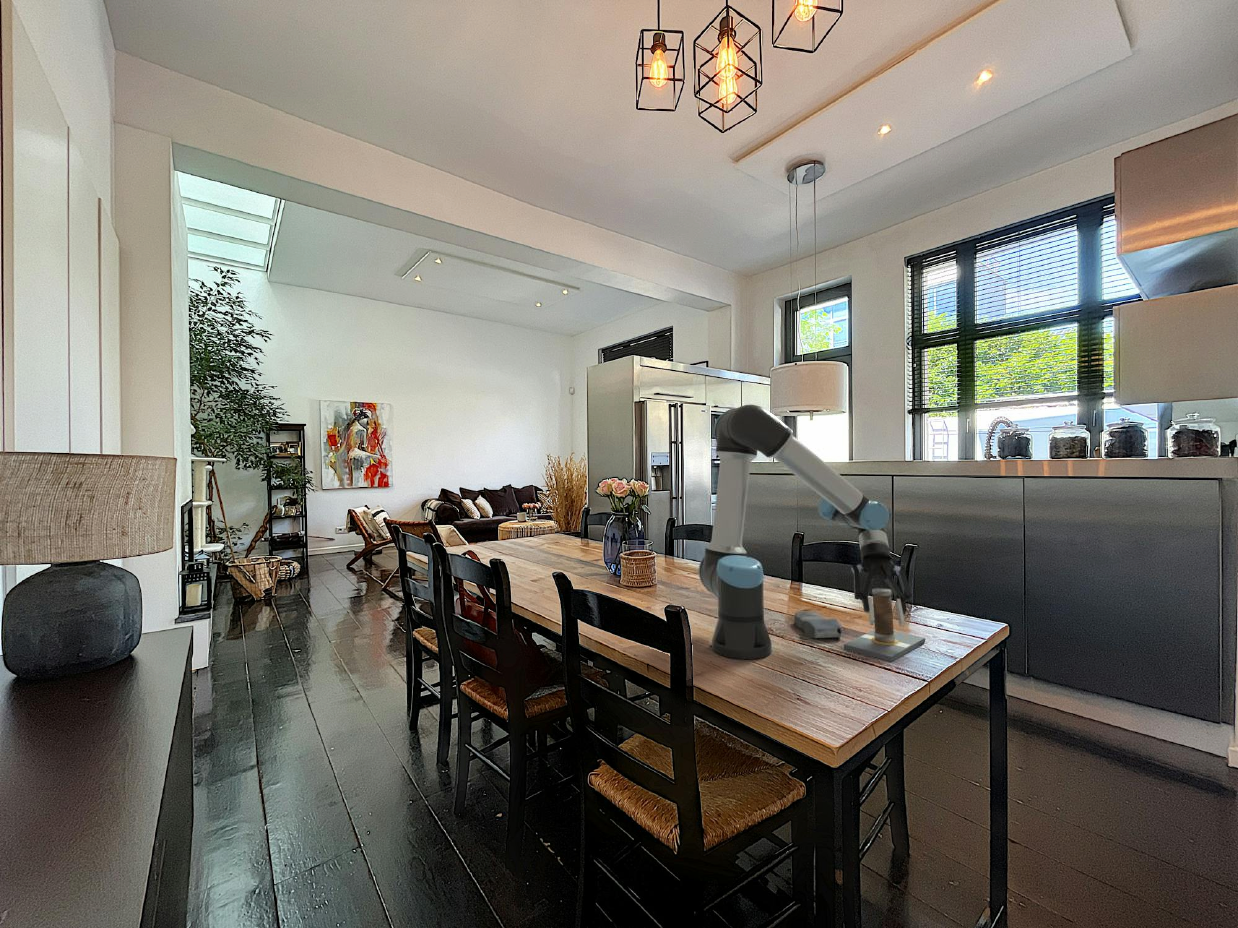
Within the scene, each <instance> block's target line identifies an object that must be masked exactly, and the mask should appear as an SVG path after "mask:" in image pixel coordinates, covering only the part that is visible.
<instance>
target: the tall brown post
mask: <svg viewBox="0 0 1238 928" xmlns="http://www.w3.org/2000/svg"><path fill="white" fill-rule="evenodd" d="M871 594H872V606H873V613H874V619H875V620H874V630H875V631H874V630H873V631H874V637H875V640H876V641H878V642H882V643H893V642H895V633H894V617H893V616H894V615H893V603H892V602H893V600H892V595H893V592H892V591H891V589H890V588H880V587H878V588H877V587H876V588H872V589H871Z"/></svg>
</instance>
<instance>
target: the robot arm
mask: <svg viewBox="0 0 1238 928" xmlns="http://www.w3.org/2000/svg"><path fill="white" fill-rule="evenodd" d="M713 436H714V439H715V441H716V448H715V454H716V455H717V456H718V458H719V460H720V461H719V469H718V476H717V477H718V478H717V479H718V480H717V487H716V497H715V504H714V506H715V507H714V515H713V523H712V524H713V525H712V534H711V541H710V542H709V543H708V544H707V545H705V549H704V557H703V558H702V559H701V560H700V562H699V565H698V578H699V580H700V582H701V584H702V585H703V588H705V589H706V591H708V592H709V593H710V594H713V595H714V596H715V597H717V611H718V613H717V614H718V617H717V621H716V625H715V628H714V632H713V634H712V638H711V643H712V644H711V649H712V650H713V652H714V653H716V654H718V655H719V656H722V655H723V657H727V658H731V659H737V660H738V659H739V660H754V659H755V660H756V659H762V658H766V657H767V656H769V655H771V653H772V651H773V650H772V648H773V647H772V646H773V645H772V639H771V637H770V634H769V631H768V628H767V626H766V623H765V614H764V613H765V612H764V611H765V610H764V609H765V605H764V603H765V602H764V597H765V596H764V578H765V575H764V571H763V566H762V563H761V562H760V561H759V560H757V559H755V558H753V557H750V556H747V551H746V549H745V548H744V547H743V538H744V537H743V536H744V527H745V520H746V519H745V518H746V509H747V499H748V491H749V480H750V471H751V463H752V461H754V459H756V458H757V456H758V452H760V453H761V454H762V455H764V456H765V457H766V458H773V459H775V460H776V461H777V462H778V463H779V464H780V465H782V466H783V467H785V468H786V469H787V470H788V471H789V472H790V473H792V474H793V475H794V476H796V477H797V478H798V479H799V480H801V481H802V482H803V483H804V484H805V485H806V486H808V487H809V488H810V489H812V490H813V491H814V492H815V493H817V494H818V495H819V496H820V497H821V500H820V502H819V505H818V509H817V510H818V514H819V515H820V517H821V518H824V519H826V520H827V521H830V522H833V523H836V524H839V525H841V526H844V527H846V528H849V529H851V530H855V531H856V532H857V537H858V542H859V549H860V557H861V563H860V564H855V563H852V564H851V570H850V571H851V573H852V575H853V590H854V594H853V595H854V596H853V598H854V599H855V600H857V601H858V600H860V601H861V603H862V606H863V608H862V609H863V611H864V613H868V620H869V625H870V626H875V624H874V620H875V619H874V608H873V599H872V597H870V596H869V595H870V594H869V593H870V590H871V588H872V587H871V586H872V583H873V581H874V580H884V582H885V583H886V584H887V585H888V587H889V589H890V590H891V592H892V595H893V596H894V597H895V600H896V602H895V608H896V614H897V619H898V623H899V627H900V628H903V627H904V625H905V623H906V622H905V615H906V613H907V610H908V609H907V603H909V602H911V601H912V597H913V594H912V591H911V589H910V588H911V587H910V585H909V582H908V578H907V576H906V569H907V568H906V566H905V565H900V566H898V565H895V563H894V562H893V561H892V556H891V551H890V545H889V541H888V540H889V539H888V535H887V531H886V525H887V524H888V522H889V519H890V514H889V509H888V508H887V506H886V505H885V504H883V503H882V502H878V501H875V500H871V499H870V498H869V497H868V496H866V495H865V494H864V493H862V492H861V491H860V490H859V489H857V488H856V487H855V486H854V485H853V484H851V483H850V482H849V481H848V480H847V479H846V478H844V477H843V476H841V474H840V473H838V472H837V471H836V470H834V469H833V468H832V467H831V466H830V465H829V464H827V463H826V462H825V461H824V460H822V459H821V457H820V456H818V455H816V454H815V453H814V452H813V451H812V450H811V449H809V448H808V447H807V446H806V445H804V444H803V443H802V442H801V441H800V440H799V439H797V437H795V436H794V435H793V429H792V428H790V427H789V426H788V425H787V424H785V422H783V421H782V420H781V419H780V418H778V417H777V416H775V415H774V414H773V413H771V411H769V410H767V409H766V408H764V407H763V406H760V405H757V404H744V405H741V406H738V407H735V408H730V409H728V410H726V411H724V412H723V413H722V414H720V415H719V416H718V418H717V419H716V421H714V426H713ZM862 571H863V572H864V573H865V574H866V575H867V579H866V582H865V584H864V585H865V586H864V590H863V592H861V582H860V578H861V577H860V573H861V572H862ZM893 571H894V572H895V573H896V575H897V576H898V580H899V585H900V586H901V589H900V586H899V585H898V584H897V582H896V580H895V578H894V577H893Z"/></svg>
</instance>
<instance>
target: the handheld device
mask: <svg viewBox="0 0 1238 928" xmlns="http://www.w3.org/2000/svg"><path fill="white" fill-rule="evenodd" d="M793 617H794V624H795V626H796V627H798V628H800V629H801V630H803V633H804V636H805V637H807V638H810V639H830V638H840V637H842V632H843V630H842V627H841V626H842V625H841V624H840V621H839V620H838V619H836V618H827V617H824V616H823V615H821V614H819V613H816V612H813V611H810V610H809V611H808V610H806V611H805V610H802V611H801V610H800V611H795V613H794V616H793Z"/></svg>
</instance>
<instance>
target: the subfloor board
mask: <svg viewBox="0 0 1238 928" xmlns="http://www.w3.org/2000/svg"><path fill="white" fill-rule="evenodd" d="M874 631H875V629H873V630H872V631H870V632H868V633H865V634H863V635H861V636H859V637H856V638H854V639H852V640H850V641H848V642H846V643H843V650H847V651H851V652H854V653H857V654H862V655H865V656H868V657H869V656H870V657H874V658H877V659H881V660H885V661H888V662H893V661H895V660H896V659H898V658H901V657H902V656H905V655H906V654H908V653H909V652H912V651H913V650H915V649H916V648H919V645H920V646H922V645H924V644H925V643H926V638H925V637H923V636H917V635H913V634H908V633H903V632H900V631H896V630H895V631H894V633H895V642H893V643H882V642H878V641H876V640H875V637H874ZM924 642H925V643H924ZM923 643H924V644H923ZM921 644H922V645H921Z"/></svg>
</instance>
